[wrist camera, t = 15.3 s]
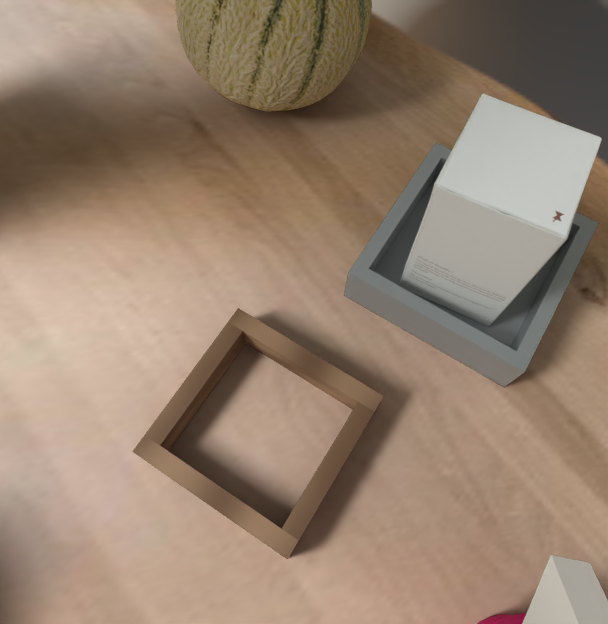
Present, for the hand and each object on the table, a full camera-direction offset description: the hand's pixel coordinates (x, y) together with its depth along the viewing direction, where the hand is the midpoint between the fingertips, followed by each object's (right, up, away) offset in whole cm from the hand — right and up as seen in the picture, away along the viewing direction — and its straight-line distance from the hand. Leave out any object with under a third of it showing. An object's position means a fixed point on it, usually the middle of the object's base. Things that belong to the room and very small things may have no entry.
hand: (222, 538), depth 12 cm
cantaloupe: (-1, +25, +38) cm, 45 cm away
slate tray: (+14, +8, +31) cm, 34 cm away
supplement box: (+13, +8, +30) cm, 34 cm away
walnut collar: (-1, -3, +26) cm, 26 cm away
